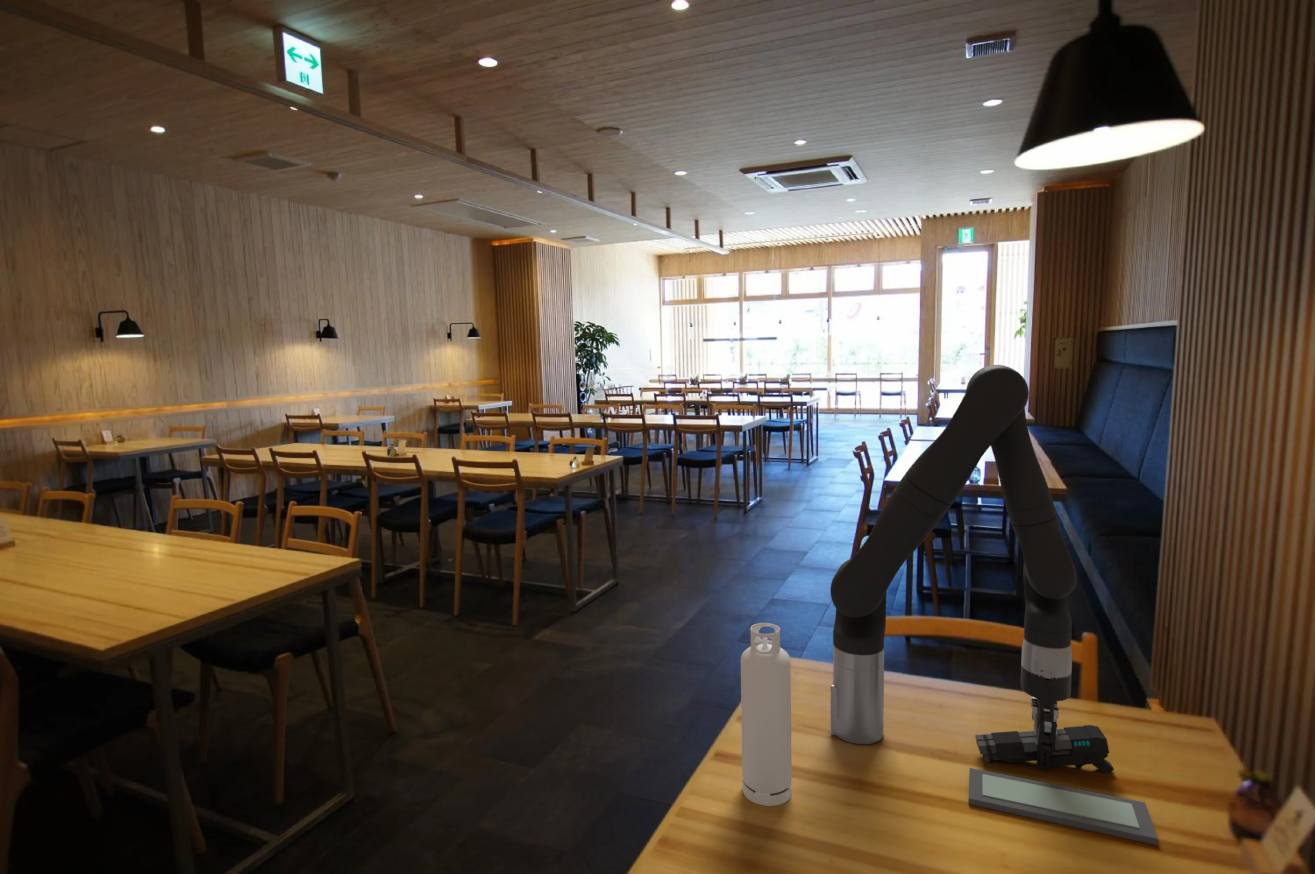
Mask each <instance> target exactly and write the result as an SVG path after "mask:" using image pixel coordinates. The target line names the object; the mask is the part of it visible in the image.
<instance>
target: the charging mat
mask: <svg viewBox="0 0 1315 874" xmlns="http://www.w3.org/2000/svg"><path fill="white" fill-rule="evenodd" d="M968 779H969V780H968V805H971V806H975V807H976V806H977V807H980V808H985V809H988V810H989V809H990V810H994V811H999V812H1003V813H1008V814H1012V815H1016V816H1022V817H1025V818H1031V819H1035V820H1040V821H1045V822H1048V823H1054V824H1058V825H1063V826H1068V827H1072V828H1077V829H1080V830H1086V831H1089V832H1096V833H1100V834H1104V835H1109V836H1114V837H1117V838H1122V839H1127V840H1132V841H1135V842H1136V841H1137V842H1140V843H1146V844H1151V845H1155V846H1158V845H1159V838H1158V837H1159V836H1157V832H1156V830H1155V827H1154V824H1153V821H1152V818H1151V815H1150V812H1149V810H1148V807H1147V804H1146V802H1145V801H1140V800H1135V799H1129V798H1125V797H1118V796H1114V795H1109V794H1104V793H1100V792H1093V791H1088V790H1085V789H1079V788H1075V787H1069V786H1064V785H1060V784H1059V785H1058V784H1053V783H1048V782H1044V781H1039V780H1033V779H1028V778H1023V777H1018V776H1013V775H1008V774H1003V773H999V772H993V771H990V770H989V771H988V770H984V769H983V770H982V769H979V768H974V767H973V768H972V767H969V776H968Z"/></svg>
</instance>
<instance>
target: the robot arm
mask: <svg viewBox="0 0 1315 874" xmlns="http://www.w3.org/2000/svg"><path fill="white" fill-rule="evenodd" d="M1029 395H1030V392H1029V387H1028V383H1027V381H1026V379H1025V378H1024V377H1023V375H1022V374H1021V373H1020V372H1018V371H1017V370H1016V369H1014V368H1012V367H1009V366H1006V365H1003V364H991V365H987V366H984V367H982V368H980V369H979V370H977V371H976V372H975V373H974V374H973V375H972V376H971V377H970V379H969V381H968V382H967V386H966V389H965V393H964V395H963V397H962V399H961V401H960V403H959V405H958V407H957V408H956V410H955V412H954V413H953V415H952V417H951V418H950V419H949V421H948V424H947V425H946V426H945V428H944V429H943V431H942V432H941V433H940V434H939V435H938V437H937V438H935V440H934V441H933V442H932V443H931V444H930V445H929V446H927V448H925V450H924V451H923V452H921V454H920V455H919V456H918V457H917V458H916V460H915V461H914V462H913V463H912V464H911V466H910V467H909V468H908V470H907V471H906V472H905V474H904V475H903V476H902V478H901V479H900V481H899V482H898V483H897V484H896V486H895V488H894V489H893V491H892V492H891V494H890V496H889V498H888V499H887V501H886V503H885V504H884V506H883V508H882V509H881V511H880V513H879V515H878V518H877V519H876V522H875V523H874V526H873V527H872V529H871V532H870V533H869V535H868V536H867V538H866V540H865V541H864V543H863V544H862V545H861V547H860V548H859V550H857V551H856V553H855V554H854V555H853V557H852V558H850V559H847V560H846V561H844V562H843V563H842V564H841V565H840V566H839V567H838V569H837V571H836V572H835V574H834V575H833V578H832V580H831V582H830V583H831V584H830V588H829V589H830V599H831V601H832V605H833V606H834V607H835V616H834V617H835V618H834V624H833V630H832V644H833V645H832V651H833V652H832V654H833V655H832V658H833V659H832V662H833V663H832V669H833V670H832V674H833V675H832V683H831V686H830V735H832V736H834V737H835V736H836V737H838V738H839V739H841V740H842V741H845V742H848V743H851V744H855V745H871V744H874V743H878V742H879V741H881V740H882V739H883V737H884V729H885V728H884V727H885V723H884V717H885V715H884V713H885V712H884V710H885V709H884V708H885V707H884V706H885V705H884V704H885V703H884V702H885V701H884V700H885V699H884V697H885V636H886V627H887V626H886V625H887V590H888V589H889V587H890V585H891V583H892V582H893V580H894V578H895V577H896V575H897V573H898V572H899V571H900V569H901V567H902V566H903V565H904V564H905V562H906V561H907V560H908V559H909V558H910V556H912V554H913V553H914V552H915V551H916V550H917V549H918V548H919V547H920V546H921V544H922V543H923V542H924V541H925V540H926V538H927V537H928V536H929V535H930V534H931V533H932V531H934V529H935V527H937V525H938V524H939V523H940V521H941V520H942V519H943V518H944V516H945V515H946V514H947V513H948V511H949V510H950V508H951V506H952V505H953V504H954V503H955V501H956V499H958V496H959V495H960V493H961V492H962V491H963V490H964V487H966V485H967V483H968V481H969V479H970V478H971V476H972V474H973V472H974V471H975V469H976V467H977V465H978V463H979V462H980V461H981V458H983V456H984V455H985V453H986V452H987V450H989V448H990V447H991V451H992V455H993V458H994V461H995V466H996V470H997V475H998V478H999V483H1000V484H999V485H1000V487H1001V492H1002V497H1003V500H1004V501H1003V502H1004V504H1005V507H1006V511H1007V514H1008V517H1009V521H1010V524H1011V526H1012V530H1013V531H1014V534H1015V537H1016V539H1017V540H1018V543H1019V545H1020V550H1021V552H1022V553H1021V554H1022V557H1023V560H1024V563H1023V587H1024V588H1023V589H1024V590H1023V591H1024V592H1023V593H1024V603H1025V611H1024V623H1023V624H1024V625H1023V626H1024V627H1023V643H1022V647H1021V659H1020V660H1021V661H1020V662H1021V664H1020V688H1021V690H1022V691H1023V693H1025V694H1026V695H1028V696H1030V697H1031V698H1030V706H1031V720H1032V721H1033V725H1032V727H1033V731H1035V733H1037V742H1036V745H1037V761H1036V767H1037V768H1038V769H1042V770H1046V771H1050V770H1052V769H1053V766H1052V752H1055V750H1056V748H1055V740H1056V735H1057V729H1058V719H1059V717H1060V716H1059V715H1060V714H1059V713H1060V711H1059V707H1058V702H1064V701H1066V700H1068V699H1070V697H1071V693H1072V670H1073V667H1072V666H1073V652H1072V616H1071V612H1070V609H1069V605H1068V603H1069V602H1068V600H1069V595H1070V594H1071V593H1072V592H1073V591H1074V590H1075V588H1076V586H1077V581H1078V578H1077V577H1078V576H1077V571H1076V567H1075V564H1074V562H1073V560H1072V556H1071V554H1070V551H1069V549H1068V547H1067V544H1066V541H1065V539H1064V536H1063V533H1062V531H1061V527H1060V521H1059V519H1058V518H1059V517H1058V514H1057V511H1056V507H1055V504H1054V500H1053V496H1052V494H1051V491H1050V490H1051V489H1050V488H1049V485H1048V482H1047V479H1046V476H1045V475H1044V471H1043V470H1042V467H1041V464H1040V463H1039V460H1038V457H1037V455H1036V452H1035V449H1034V446H1033V443H1032V439H1031V437H1030V432H1029V427H1028V423H1027V415H1026V406H1027V404H1028V400H1029ZM1042 740H1046V741H1050V742H1046V741H1042Z"/></svg>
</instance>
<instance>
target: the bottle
mask: <svg viewBox="0 0 1315 874" xmlns="http://www.w3.org/2000/svg"><path fill="white" fill-rule="evenodd" d="M763 627H766V628H767V627H768V628H773V630H774V633H760V630H761V629H762V628H763ZM769 639H770V640H769ZM791 662H792V659H791V656H790V655H789V653H788V652H787V651H786V650H785V649H783V648H782V647H781V628H780V626H779V625H776V624H774V623H770V622H769V623H768V622H759V623H756V624H752V625H751V627H750V646H749V647H747V648H746V649H745V650H744V651H743V652H742V654H741V656H740V694H741V695H740V697H741V698H740V699H741V700H740V701H741V704H740V706H741V707H740V708H741V766H742V768H741V770H742V793H743V795H744V796H745V798H747V800H748V801H750V802H752V803H753V804H756V805H760V806H765V807H766V806H767V807H773V806H779V805H783V804H784V803H787V802H788V801H789V800H790V799H791V797H792V795H793V793H792V792H793V790H792V786H793V785H792V784H793V783H792V672H791V671H792V668H791V667H792V665H791V664H792V663H791Z"/></svg>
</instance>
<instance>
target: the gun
mask: <svg viewBox="0 0 1315 874" xmlns="http://www.w3.org/2000/svg"><path fill="white" fill-rule="evenodd" d="M974 737H975V741H976V745H977V748H978V751H979V753H980V755H982V756H983V760H984V761H985V762H987V763H990V762H993V761H1003V762H1004V763H1006V764H1016V763H1017V764H1018V763H1021V764H1022V763H1027V762H1034V761H1035V762H1037V745H1036V742H1037V733H1035V731H1034V730H1029V731H1028V730H1027V731H1018V730H1011V731H1000V732H999V731H996V732H991V733H985V734H975V735H974ZM1042 741H1046V740H1042ZM1046 742H1050V741H1046ZM1055 748H1056V750H1055V752H1052V767H1063V766H1064V767H1066V766H1074V767H1076V768H1077V769H1082V768H1083V766H1086V765H1092V766H1094V767H1095V768H1097V769H1098V770H1099V771H1101V772H1102V773H1104V774H1105V775H1111V773H1112V772H1113V771H1114V770H1115V768H1114V767H1113V765H1112V763H1111V762H1109V761H1108V760H1107V759H1106V758H1108V757H1109V754H1110V750H1109V744H1108V738H1107V737H1106V736H1105V735H1104V733H1103V732H1102V729H1100V727H1099V726H1097V725H1096V726H1095V725H1093V724H1092V725H1091V724H1088V725H1087V724H1086V725H1082V726H1081V725H1079V726H1066V727H1063V728H1057V735H1056V740H1055Z"/></svg>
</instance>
